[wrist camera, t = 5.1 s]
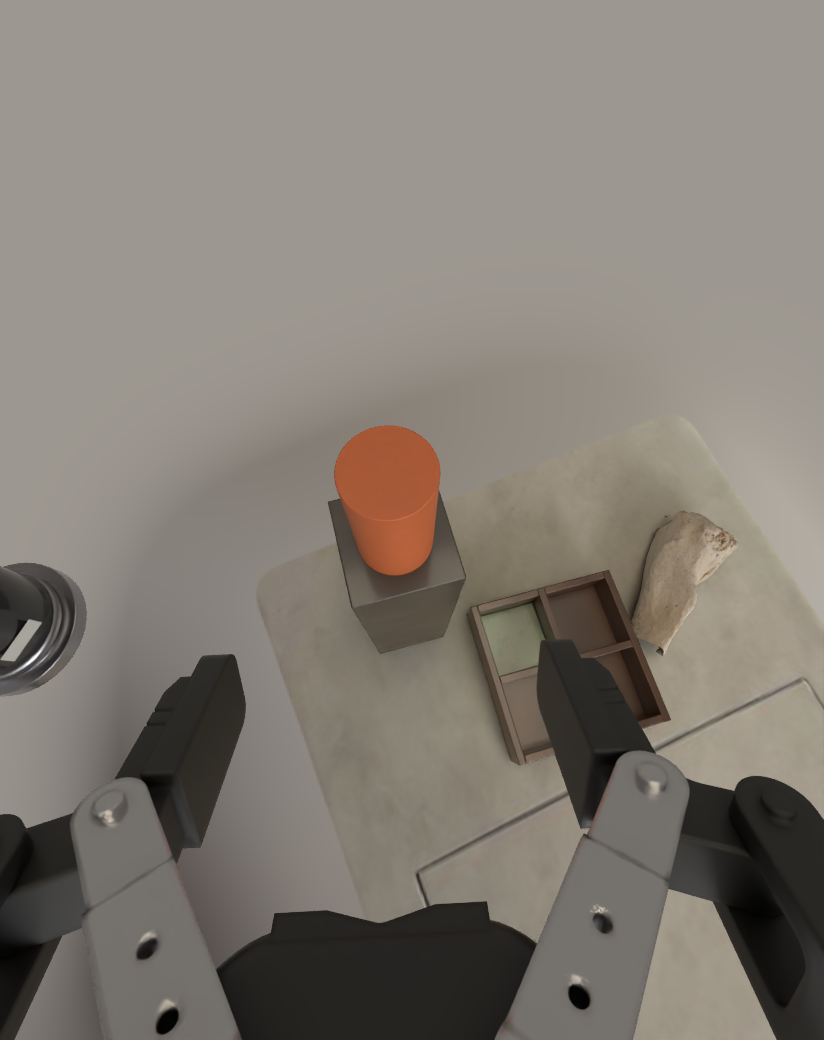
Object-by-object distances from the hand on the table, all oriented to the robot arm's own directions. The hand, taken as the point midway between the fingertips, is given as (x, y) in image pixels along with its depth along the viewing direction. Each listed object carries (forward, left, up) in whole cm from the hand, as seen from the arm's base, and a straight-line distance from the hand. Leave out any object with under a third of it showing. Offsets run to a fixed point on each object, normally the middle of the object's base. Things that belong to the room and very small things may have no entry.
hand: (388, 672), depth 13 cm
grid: (+14, -1, -33) cm, 36 cm away
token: (+2, +7, -11) cm, 14 cm away
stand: (+2, +7, -33) cm, 34 cm away
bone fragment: (+27, +3, -33) cm, 43 cm away
